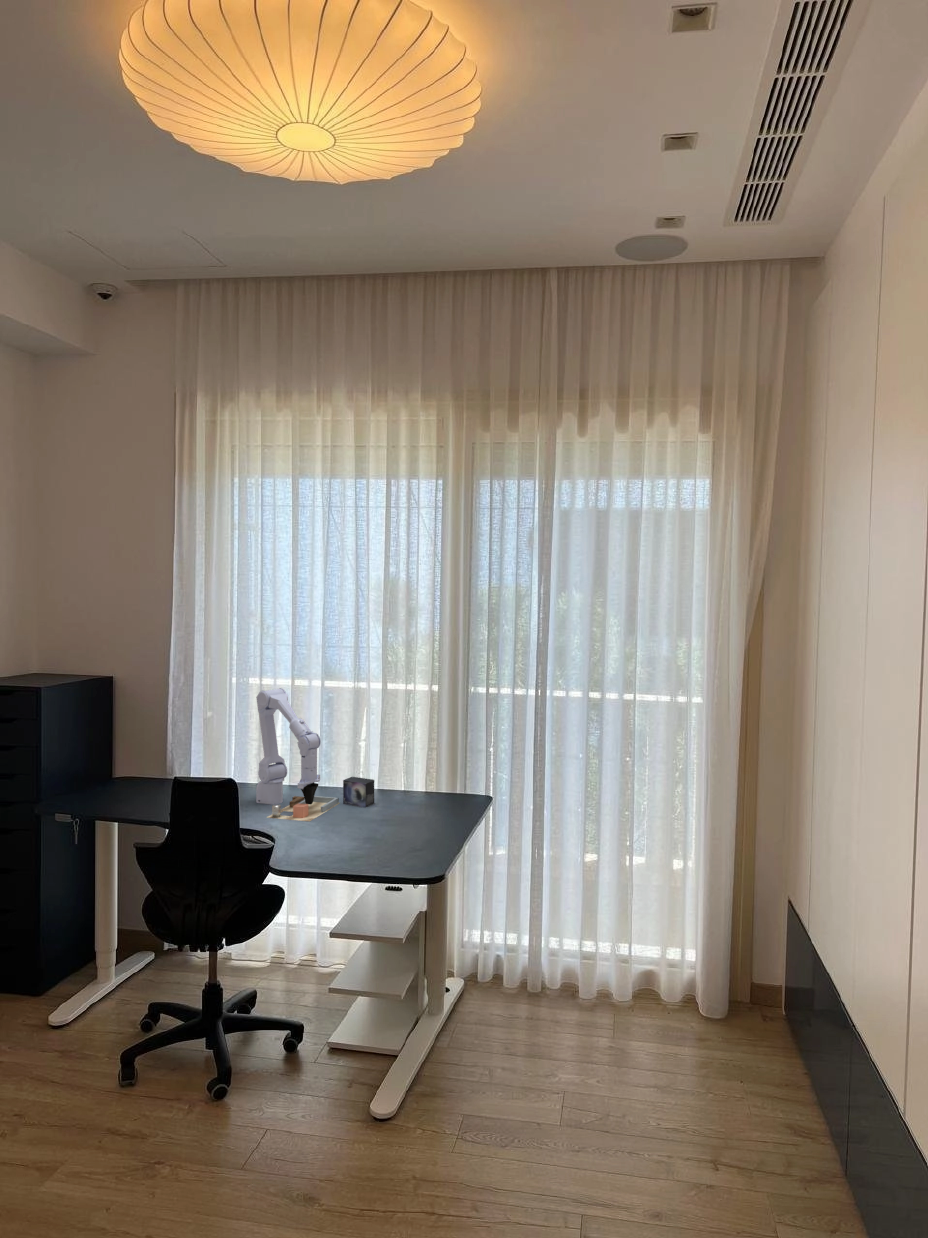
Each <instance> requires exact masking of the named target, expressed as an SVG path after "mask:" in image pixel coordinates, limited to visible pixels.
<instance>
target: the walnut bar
mask: <svg viewBox="0 0 928 1238" xmlns="http://www.w3.org/2000/svg"><path fill="white" fill-rule="evenodd" d="M303 800H305V799H304V796H297V795H293V797H292V800H290V801H289V805H290V807H293V806H294V805H296V804H298V803H300V802H301V801H303Z"/></svg>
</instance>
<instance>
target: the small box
mask: <svg viewBox="0 0 928 1238" xmlns="http://www.w3.org/2000/svg"><path fill="white" fill-rule="evenodd" d="M342 785H343V786H342V787H343V789H342V792H343V793H342V794H343V795H342V797H343V798H342V799H343V800H342V801H343V802H342V803H343V805H348V806H354V807H359V808H360V807H361V808H362V807H363V808H368V807H370V806H372V805H375V779H373V778H372V779H371V778H364V777H359V776H358V777H357V776H351V777H348V778H345V779H343V780H342Z"/></svg>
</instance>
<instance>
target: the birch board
mask: <svg viewBox="0 0 928 1238" xmlns="http://www.w3.org/2000/svg"><path fill="white" fill-rule="evenodd" d="M325 804H326V803H322V802H313V803H312V804H308V816H306V817H304V818H296V817H293V814H292V815H281V817H279V818H275V819H277V820H278V819H279V820H289V821H299V822H300V821H301V822H311V821H313V820H315V819H316V818H318V817H320V816H321V815H323V814H324V813H326V812H328V811H330V810H331V809H334V807H336V806H338V805H339V804H341V802H339V803H338V804H336V805H335V806H333V807H331V808H330V809H328V810H326V811H325V812H321V806H323V805H325ZM283 812H291V813H293V807H290V804H288V805H286V806H285V807H283V808H281V813H283ZM266 818H267V819H268V818H269V819H274V818H273V817H272V814H270V815H268V816H266Z"/></svg>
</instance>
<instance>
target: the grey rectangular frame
mask: <svg viewBox="0 0 928 1238" xmlns="http://www.w3.org/2000/svg"><path fill="white" fill-rule="evenodd" d="M339 800H340V799H339V797H333V796H321V795H314V799H313V802H322V803H326V804H325V805H323V806H321V812H325V811H326V810H328V809H330V808H331V807H333V806H335V805H336V804H338V803H340V802H339ZM300 804H306V803H305V799H304V800H303V801H301V802H300ZM338 805H339V804H338ZM336 806H337V805H336ZM336 806H335V807H336ZM333 808H334V807H333ZM331 809H332V808H331ZM331 809H330V810H331ZM328 811H329V810H328ZM326 812H327V811H326ZM326 812H325V813H326Z"/></svg>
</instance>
